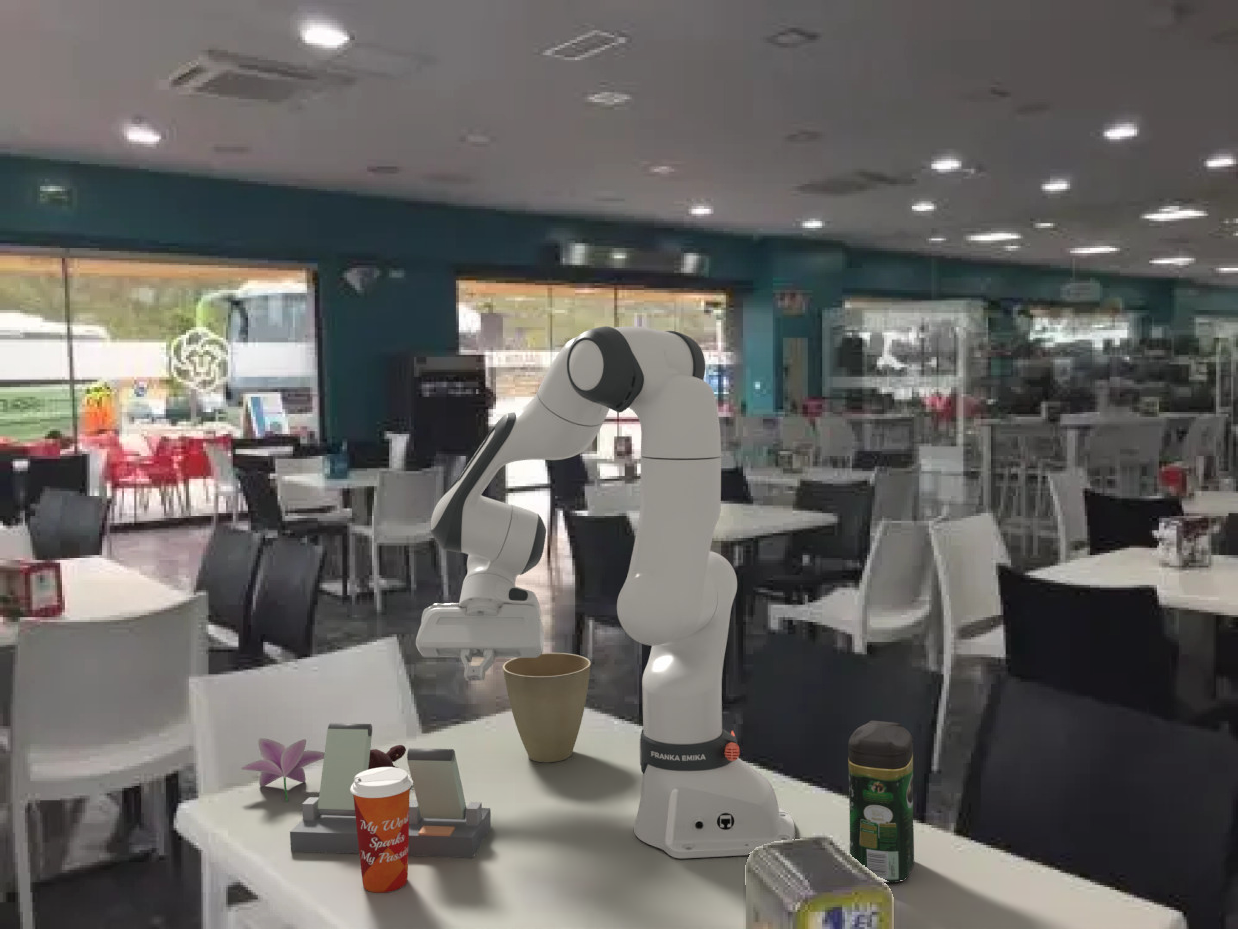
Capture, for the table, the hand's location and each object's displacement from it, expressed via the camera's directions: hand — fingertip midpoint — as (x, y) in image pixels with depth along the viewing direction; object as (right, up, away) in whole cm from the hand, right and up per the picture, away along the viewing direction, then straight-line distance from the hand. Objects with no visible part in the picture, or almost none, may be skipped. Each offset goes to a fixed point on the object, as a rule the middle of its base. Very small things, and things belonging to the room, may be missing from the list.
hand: (473, 678), depth 166 cm
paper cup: (-7, -21, -29) cm, 36 cm away
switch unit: (-9, -19, -16) cm, 27 cm away
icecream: (-17, -18, +3) cm, 25 cm away
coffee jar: (+56, -19, -28) cm, 66 cm away
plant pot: (+11, -17, +17) cm, 26 cm away
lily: (-30, -19, +3) cm, 36 cm away
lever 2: (-2, -15, -17) cm, 23 cm away
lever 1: (-17, -15, -15) cm, 27 cm away
